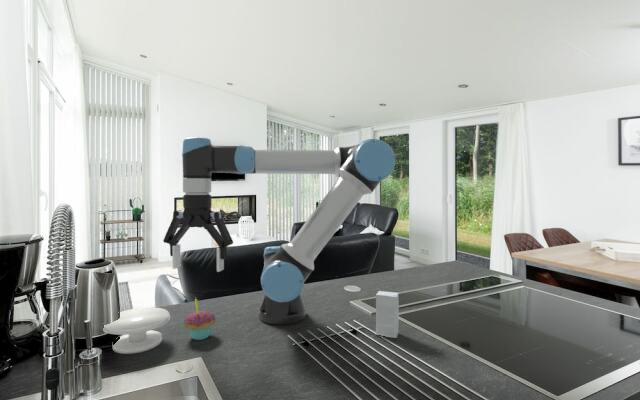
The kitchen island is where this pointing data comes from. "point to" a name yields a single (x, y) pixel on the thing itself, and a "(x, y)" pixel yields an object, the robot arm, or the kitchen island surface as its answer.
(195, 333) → the cupcake
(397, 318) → the skincare box
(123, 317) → the cake stand
